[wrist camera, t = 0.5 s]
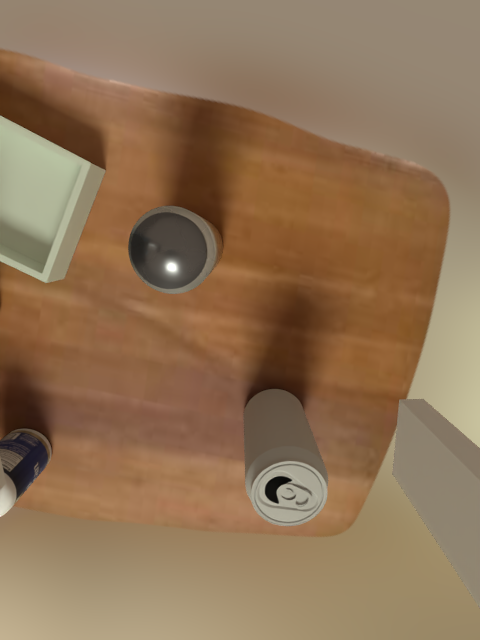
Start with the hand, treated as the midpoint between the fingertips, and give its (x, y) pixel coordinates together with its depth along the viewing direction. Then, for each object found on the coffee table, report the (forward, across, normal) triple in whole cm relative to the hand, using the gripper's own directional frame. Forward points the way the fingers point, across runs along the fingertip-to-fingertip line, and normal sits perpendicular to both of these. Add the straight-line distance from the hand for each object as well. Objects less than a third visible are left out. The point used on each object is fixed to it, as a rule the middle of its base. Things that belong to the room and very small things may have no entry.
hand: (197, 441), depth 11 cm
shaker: (+23, -3, +6) cm, 24 cm away
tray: (+23, -18, +11) cm, 31 cm away
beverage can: (+23, +5, -12) cm, 27 cm away
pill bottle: (+24, -22, -16) cm, 36 cm away
